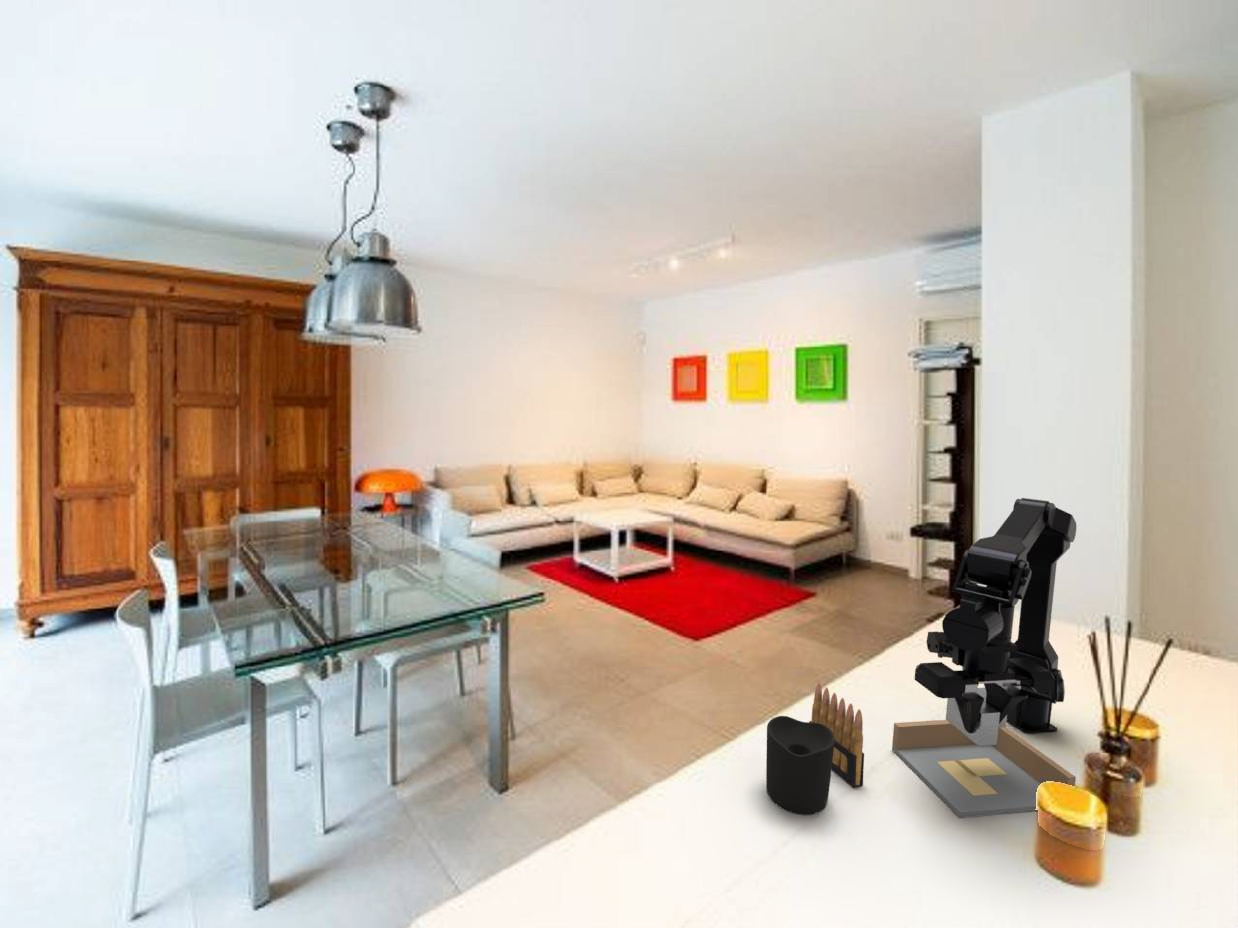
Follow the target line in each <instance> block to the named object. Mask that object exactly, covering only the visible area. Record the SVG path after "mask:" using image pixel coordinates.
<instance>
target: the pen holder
mask: <svg viewBox="0 0 1238 928" xmlns="http://www.w3.org/2000/svg"><path fill="white" fill-rule="evenodd" d="M766 725H767V726H766V764H765V765H766V769H765V770H766V771H765V772H766V774H765V775H766V777H765V778H766V779H765V783H766V786H765V787H766V792H767V795H768V797H769V798H770V799H771V801H772V800H773V801H774V802H773V801H772V802H773V803H774V804H775V805H776V804H777V805H776V806H778V807H779V808H780V807H781V809H782V810H784V811H786V812H788V813H791V814H794V815H795V814H796V815H801V816H806V815H807V816H809V815H814V814H815V815H816V814H817V813H820V812H821V811H822V810H824V809H825V808H826V806H827V804H828V799H829V793H830V787H831V786H830V785H831V778H832V761H833V752H834V743H835V737H834V735H833V733H832V731H831V730H830V729H829V728H828V727H826V726H825V725H823V724H820V723H814V722H809V721H808V722H807V721H801V720H799V719H798V720H797V719H795V718H793V717H790V716H787V715H779V716H775V717H773V718H772V719H770V720H769V722H767V724H766Z"/></svg>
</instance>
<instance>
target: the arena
mask: <svg viewBox="0 0 1238 928" xmlns="http://www.w3.org/2000/svg"><path fill="white" fill-rule="evenodd" d="M892 735H893V736H892V744H891V751H892V752H894V754H895V755H896V756H897V757H898V758H899V759H900V760H901V761H902V762H903V763H904V764H905V765H906V766H907V767H909V769H910V770H911V771H912V772H913V773H914V774H915V775H916V776H917V777H919V779H920V780H921V781H922V782H924V784H925V785H926V786H927V787H928V788H929V789H930V790H931V791H932V792H933V793H934V794H935V795H936V796H937V797H938V798H939V799H940V800H941V801H942V802H943V803H944V804H945V805H946V806H947V807H948V808H949V809H950V810H951V811H952V812H953V813H954V814H955V815H956V816H957V817H958V818H960V819H961V818H971V817H972V818H974V817H982V816H994V815H1007V814H1018V813H1027V812H1028V813H1029V812H1036V811H1035V809H1036V792H1037V788H1038V786H1039V785H1040V784H1041V783H1043V782H1046V781H1054V782H1061V783H1065V784H1068V785H1072V786H1075V787H1076V780H1077V779H1076V777H1077V776H1076V775H1074V774H1073V773H1071V772H1070V771H1068V770H1067V769H1065V768H1064V767H1063V766H1061V765H1060V764H1059V763H1057V762H1055V761H1054V760H1052V758H1050V757H1049V756H1048V755H1046V754H1045V753H1043V752H1042V751H1040V750H1039V749H1038V748H1036V747H1034V746H1033V745H1032V744H1030V743H1029V742H1027V741H1026V740H1025V739H1023V738H1022V737H1020V736H1019V735H1018V734H1016V733H1015V732H1014V731H1012V730H1011V729H1009V728H1008V727H1007V726H1006V727H1002V728H998V737H997V745H983V746H978V745H977V744H975V743H974V742H973V741H972V740H970V739H969V738H968V737H967V736H965V735H964V734H963V733H962V732H960V731H959V730H958V729H957V728H955V727H954V726H953V725H952V724H950V723H949V722H948V721H947V720H946V719H938V720H936V719H935V720H922V721H921V720H920V721H905V722H904V721H903V722H894V723H893V732H892Z"/></svg>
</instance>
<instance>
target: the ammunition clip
mask: <svg viewBox="0 0 1238 928" xmlns="http://www.w3.org/2000/svg"><path fill="white" fill-rule="evenodd" d="M814 689H815V690H814V697H813V704H812V708H811V719H810V720H809V721H808V722H814V723H820V724H823V725H825V726H826V727H828V728H829V729H830V730H831V731H832V733H833V735H834V737H835V743H834V752H833V761H832V770H831V772H833V773H835V774H836V775H837V776H838V777H839V778H841V779H842V780H843V781H844V782H846V783H847V784H848V785H849V786H850V787H851V788H854V789H855V788H859V787H861V786H863V785H864V769H865V768H864V765H865V753H864V752H863V747H864V746H863V745H864V735H863V734H864V733H863V730H864V729H863V727H864V726H863V723H864V722H863V721H864V720H863V714H862V711H861V709H860V708H858V710H857V711H856V713H855V712H854V706H853V703H851V702H850V703H849V704H848V707H847V709H846V701H845V699H844V697H841V698H840V700H839V703H838V696H837V694H836V692H833V693H832V695H831V698H830V691H829V688H828V687H825V689H824V690H823V689H822V684H821V682H817V684H816V686H815V688H814Z"/></svg>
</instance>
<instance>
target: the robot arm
mask: <svg viewBox="0 0 1238 928" xmlns="http://www.w3.org/2000/svg"><path fill="white" fill-rule="evenodd" d="M1077 526H1078V525H1077V522H1076V520H1075V518H1074V515H1073V514H1070V513H1069V512H1067V511H1065V510H1062V509H1060V508H1058V507H1056V505H1055V503H1053V502H1050V501H1049V500H1042V499H1034V498H1025V497H1021V498H1017V499H1015V501H1014V504H1013V510H1012V511H1011V513H1009V515H1008V516H1007V518H1005V521H1004V522H1003V523H1002V524H1001V525H1000V527H999V528H998V529H997V530H996V532H995V533H994V535H993V536H988V537H983V538H982V537H981V538H979V539H978V540H976V541H975V542H974V543H973V544H972V545H971V546H970V547H969V549H966V550H965V551H964V553H963V556H962V559H961V562H960V565H959V568H958V571H957V574H956V577H955V579H954V583H953V586H952V590H951V591H952V592H953V593H956V594H961V595H963V597H962V598H961V599H960V601H959V603H960V604H959V605H957V606H956V607H954V608H953V609H951V610H949V611H948V612H947V613H946V614H945V616H944V618H943V619H942V624H941V625H942V626H941V627H942V631H927V637H926V648H927V650H928V652H929V653H933V654H937V658H940V659H942V658H948V659H949V658H950V659H951V663H952V664H955V665H956V666H959V667H962V668H961V669H962V670H954V669H952V668H951V667H949V666H948V665H946V664H945V663H943V662H942V661H941V662H940V661H939V662H920V663H919V664H917V666H916V667H915V670H914V681H916V682H917V683H918V684H920V685H921V686H922V687H924V689H926V690H928V691H929V692H930V693H932V694H933V695H934V696H935V697H937V698H940V699H948V698H955V700H956V703H957V706H958V709H959V712H960V715H961V719H962V722H963V725H964V728H965V730H966V731H967V732H968V733H972V732H973V730H974V728H975V726H976V723H977V720H978V717H979V714H980V711H981V708H982V705H983V701H984V698H983V697H982V696H980V695H979V694H977V689H978V688H979V684H980V685H981V684H983V686H984V688H985V689H986V703H987V704H989V705H990V706H991V707H993V708H994V709H996V710H997V711H999V712H1000V718H999V724H1000V722H1001V721H1002V720H1003V719H1004V718H1005V717H1006V715H1007V721H1008V722H1010V723H1011V724H1012V725H1014V726H1015V727H1017V729H1019V730H1020V731H1022V732H1024V733H1026V734H1035V733H1036V734H1037V733H1049V732H1050V733H1051V732H1058V727H1057V726H1055V725H1053V724H1052V723H1051V717H1052V710H1053V709H1052V708H1053V705H1056V704H1057V703H1064V701H1065V691H1066V689H1065V681H1064V678H1063V676H1062V671H1061V669H1059V656H1058V654H1057V652H1056V650H1055V648H1054V647H1053V645H1052V644H1051V642H1050V634H1051V633H1050V630H1051V623H1052V611H1053V604H1054V603H1053V602H1054V592H1055V582H1056V581H1055V580H1056V572H1057V564H1058V563H1057V562H1058V561H1059V560H1060V559H1061V558H1062V557H1063V556H1064V554H1065V553H1066V552H1067V551H1068V550H1069V549H1070V547H1071V543H1074V541H1075V539H1076V534H1077ZM967 580H968V582H967ZM1019 600H1021V601H1020V611H1019V622H1018V630H1017V631H1018V632H1017V633H1018V634H1017V639H1016V640H1015V642H1013V641H1012V636H1013V628H1014V627H1013V625H1014V616H1015V606H1016V605H1018V602H1019Z"/></svg>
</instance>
